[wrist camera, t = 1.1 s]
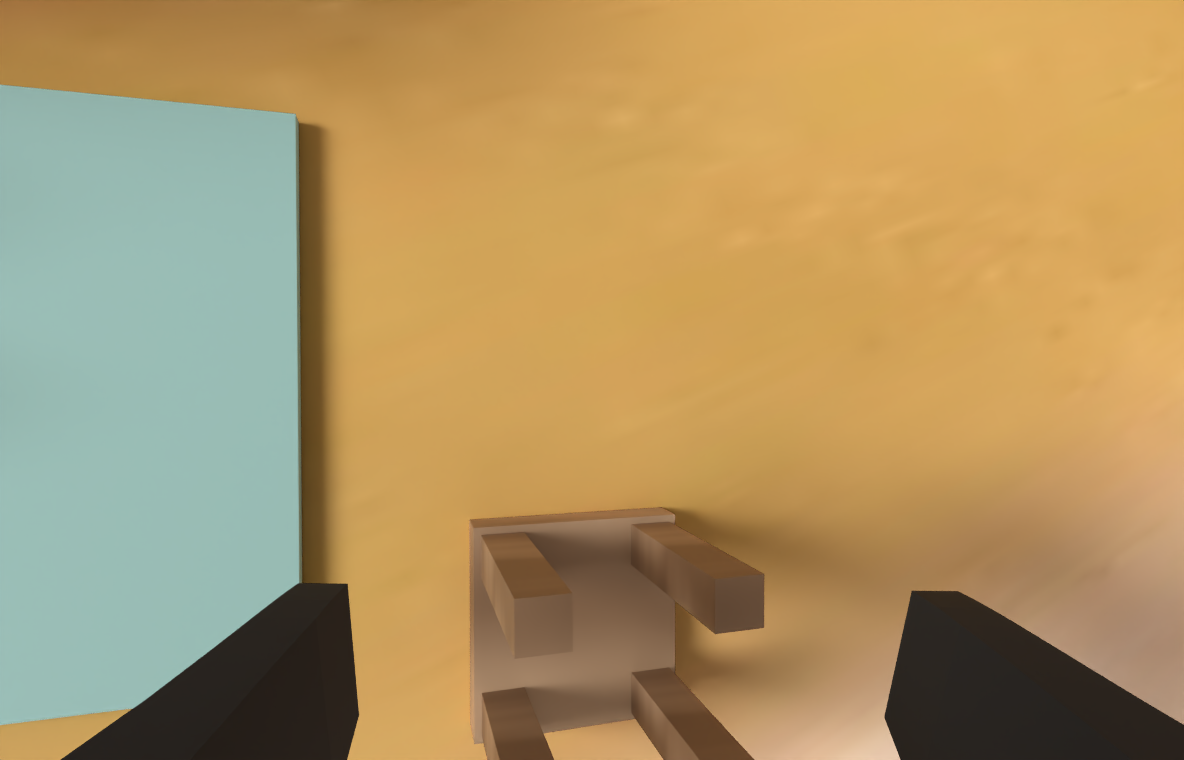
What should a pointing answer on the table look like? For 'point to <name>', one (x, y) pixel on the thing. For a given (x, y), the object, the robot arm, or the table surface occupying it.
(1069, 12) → the table surface
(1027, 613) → the table surface
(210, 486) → the mat
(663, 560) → the upturned stool
